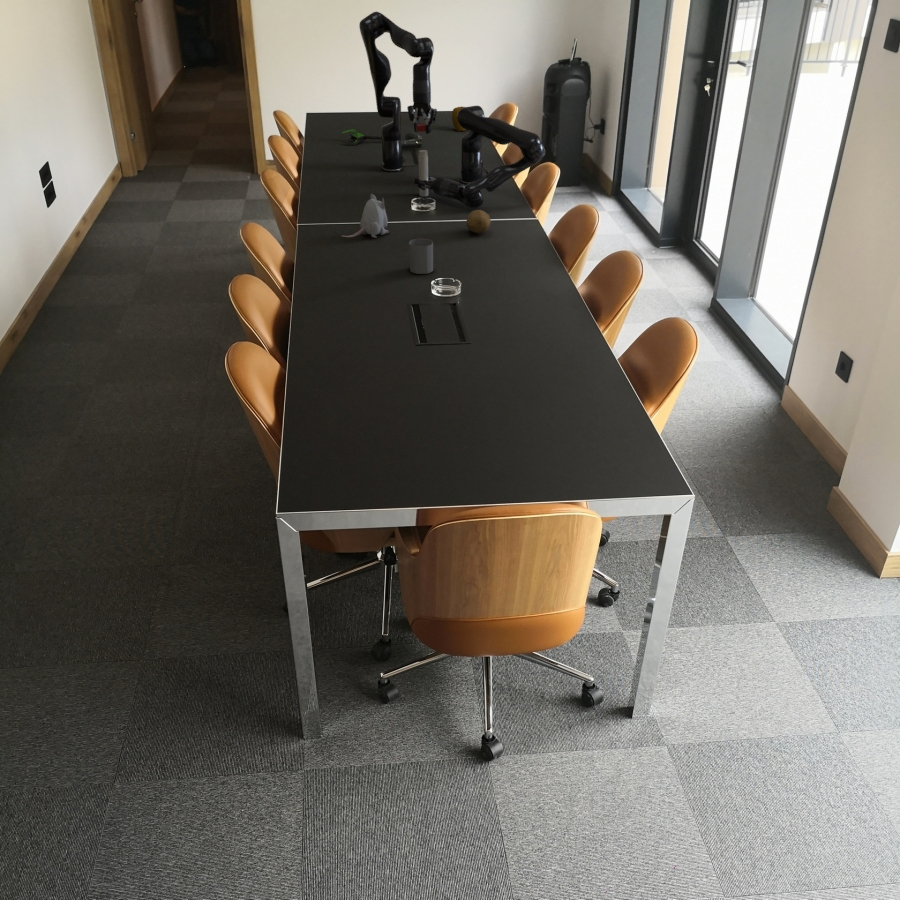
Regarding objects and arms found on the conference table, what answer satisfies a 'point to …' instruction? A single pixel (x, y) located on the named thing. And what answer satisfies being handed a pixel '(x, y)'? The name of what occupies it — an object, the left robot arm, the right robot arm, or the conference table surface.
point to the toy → (373, 218)
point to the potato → (478, 221)
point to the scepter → (359, 137)
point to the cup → (421, 256)
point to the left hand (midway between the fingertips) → (422, 132)
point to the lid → (421, 127)
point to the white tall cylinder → (423, 170)
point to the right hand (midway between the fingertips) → (419, 179)
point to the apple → (454, 119)
